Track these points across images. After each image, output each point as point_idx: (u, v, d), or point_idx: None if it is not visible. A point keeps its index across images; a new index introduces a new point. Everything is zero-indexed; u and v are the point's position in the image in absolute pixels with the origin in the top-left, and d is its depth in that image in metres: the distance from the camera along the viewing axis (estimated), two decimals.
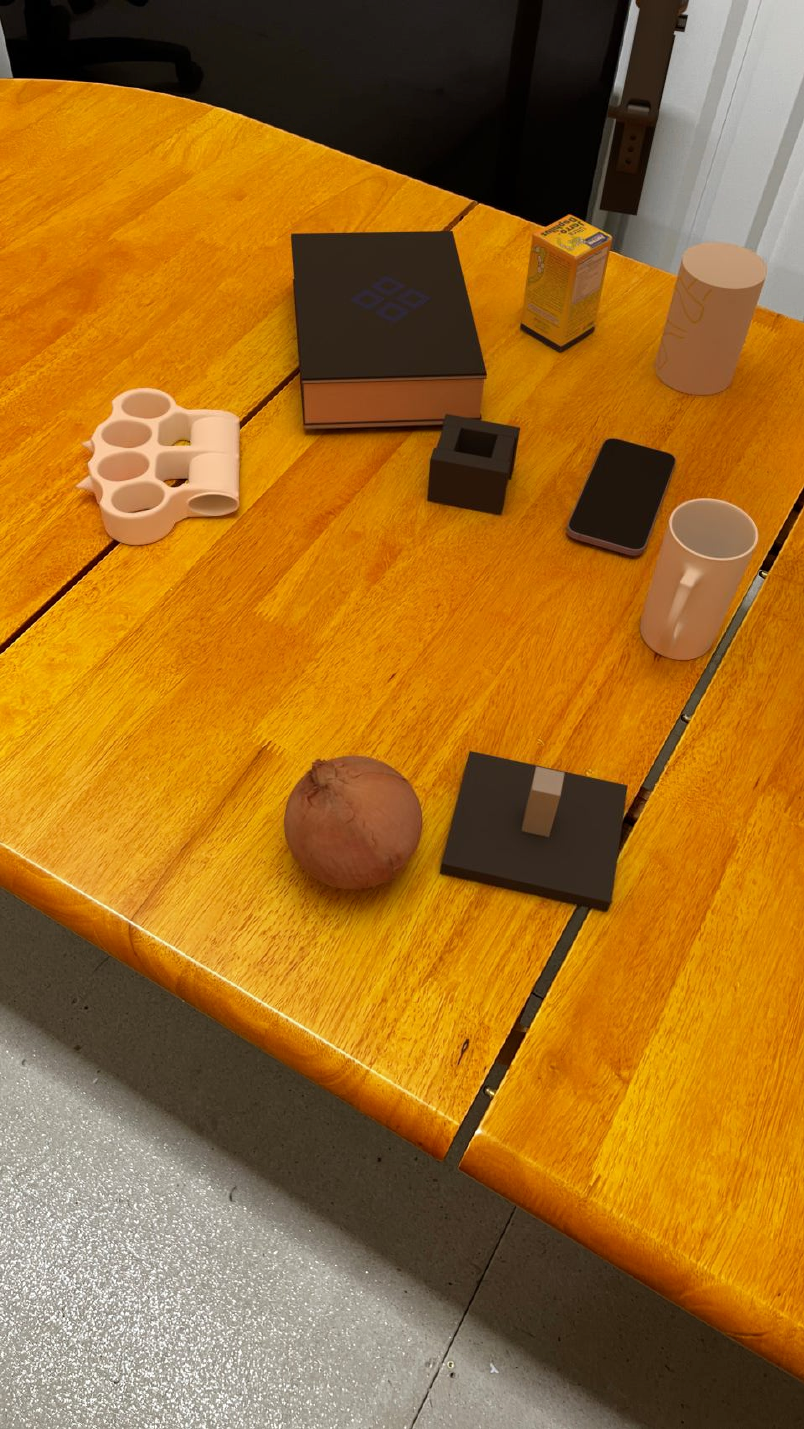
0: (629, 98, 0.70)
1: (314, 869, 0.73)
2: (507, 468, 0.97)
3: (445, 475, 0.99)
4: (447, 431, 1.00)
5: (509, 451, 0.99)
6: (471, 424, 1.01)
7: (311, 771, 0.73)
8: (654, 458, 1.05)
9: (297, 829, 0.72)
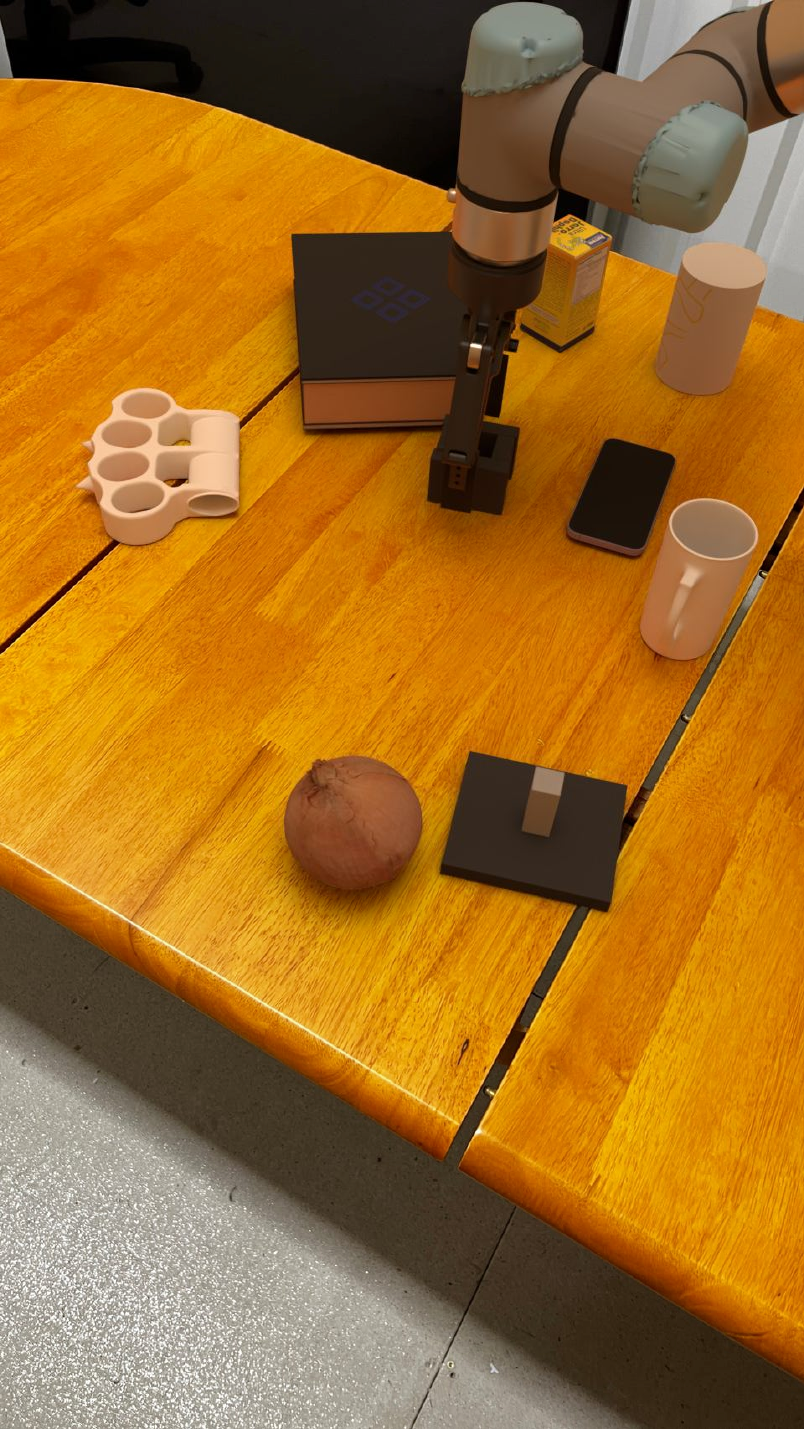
0: (450, 449, 0.88)
1: (314, 869, 0.73)
2: (507, 468, 0.97)
3: None
4: None
5: (509, 451, 0.99)
6: None
7: (311, 771, 0.73)
8: (654, 458, 1.05)
9: (297, 829, 0.72)
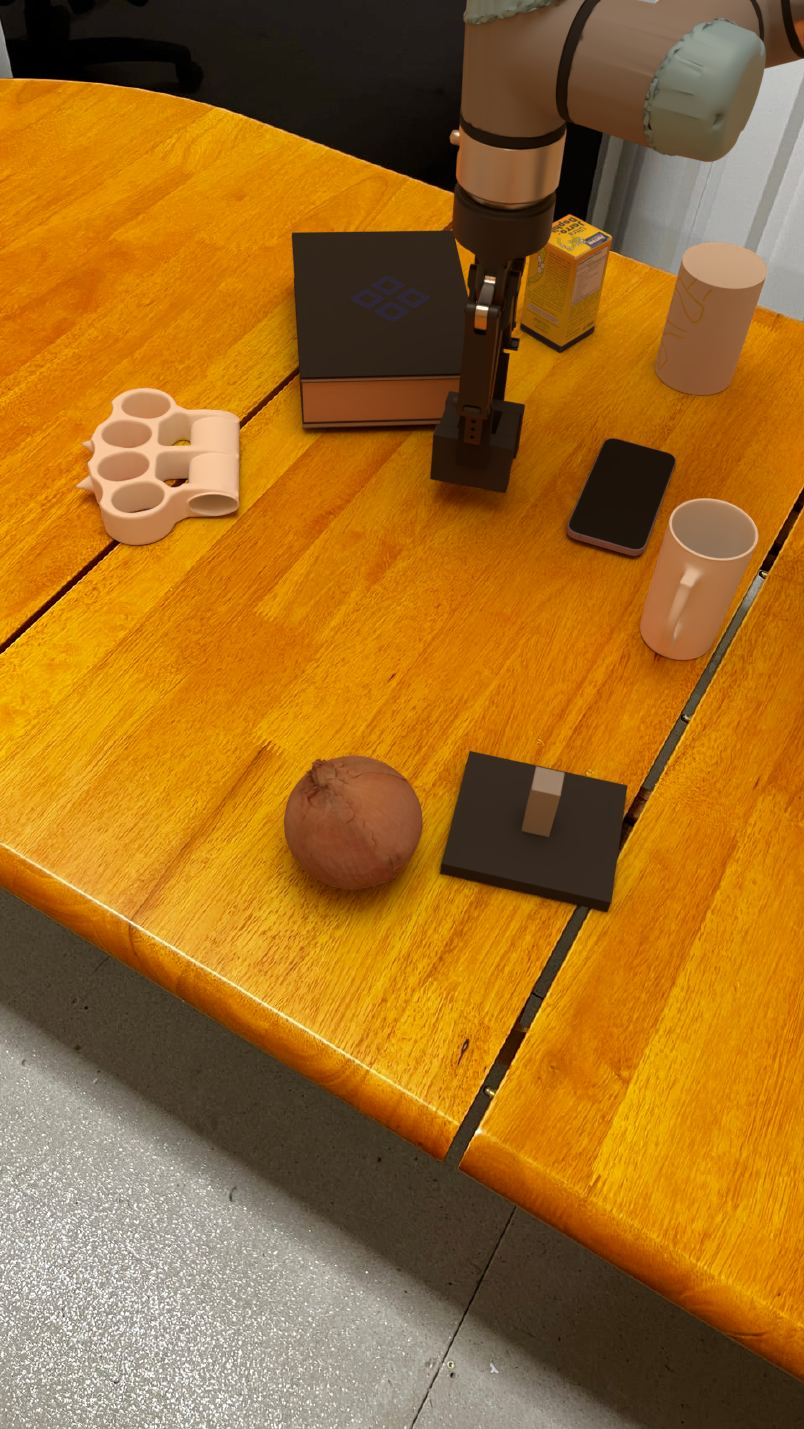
0: (463, 403, 0.88)
1: (314, 869, 0.73)
2: (512, 444, 0.95)
3: (448, 452, 0.96)
4: (450, 408, 0.98)
5: (514, 428, 0.96)
6: None
7: (311, 771, 0.73)
8: (654, 458, 1.05)
9: (297, 829, 0.72)
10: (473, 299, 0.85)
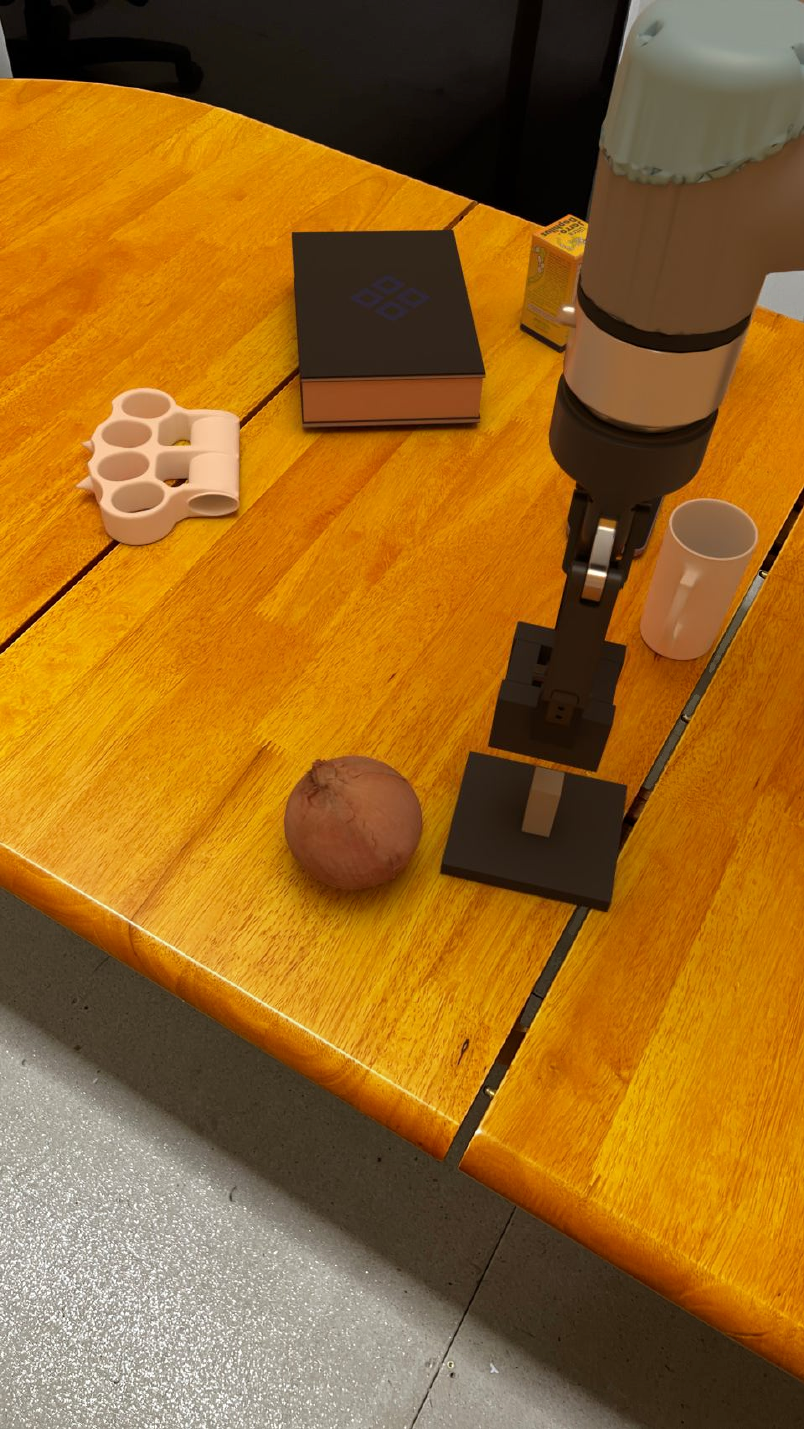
0: (553, 688, 0.58)
1: (314, 869, 0.73)
2: (612, 717, 0.65)
3: (518, 719, 0.67)
4: (521, 651, 0.68)
5: (613, 687, 0.67)
6: None
7: (311, 771, 0.73)
8: None
9: (297, 829, 0.72)
10: (575, 541, 0.56)
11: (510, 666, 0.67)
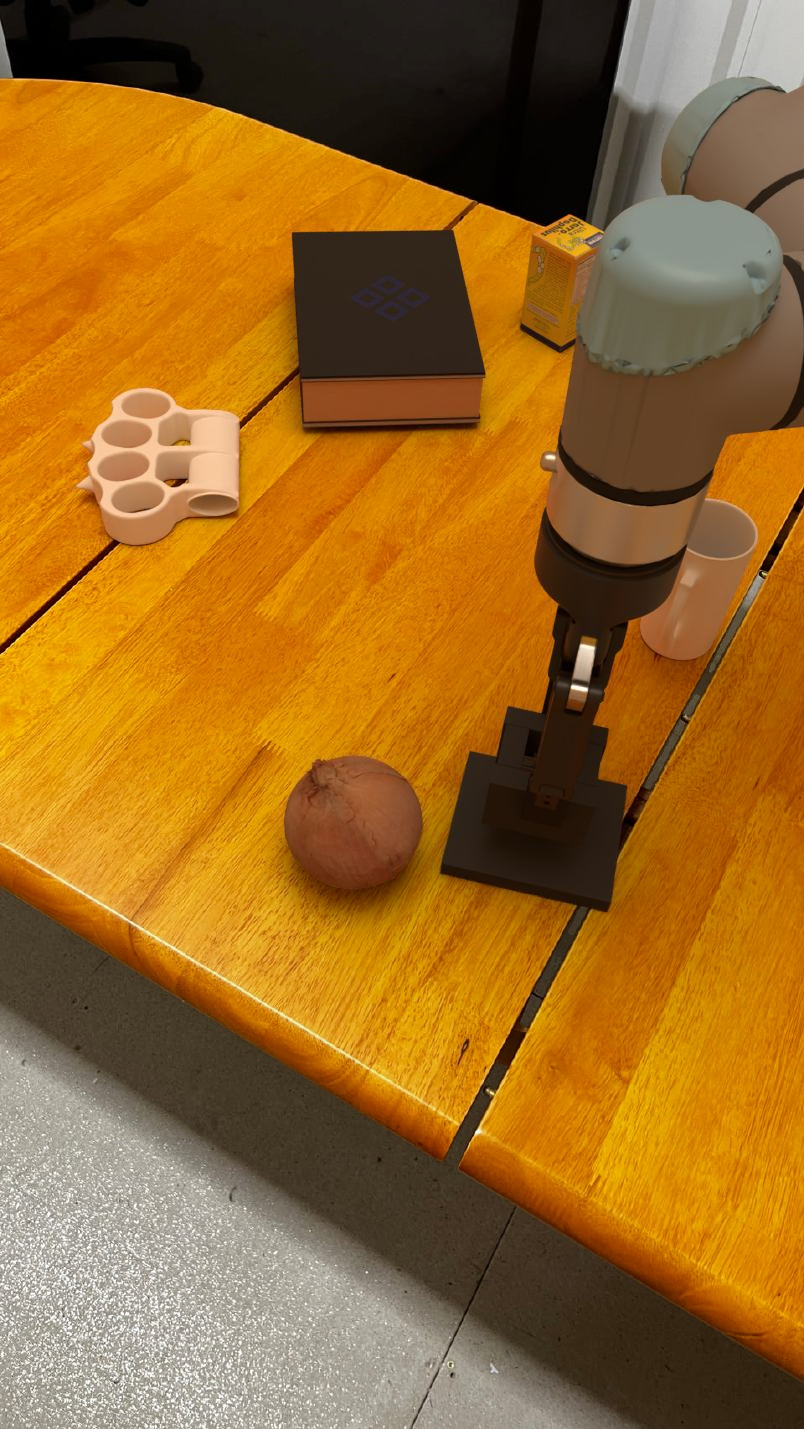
0: (541, 783, 0.63)
1: (314, 869, 0.73)
2: (596, 799, 0.70)
3: (509, 801, 0.72)
4: (511, 736, 0.73)
5: (597, 769, 0.72)
6: (543, 723, 0.74)
7: (311, 771, 0.73)
8: None
9: (297, 829, 0.72)
10: (559, 652, 0.61)
11: (501, 751, 0.72)
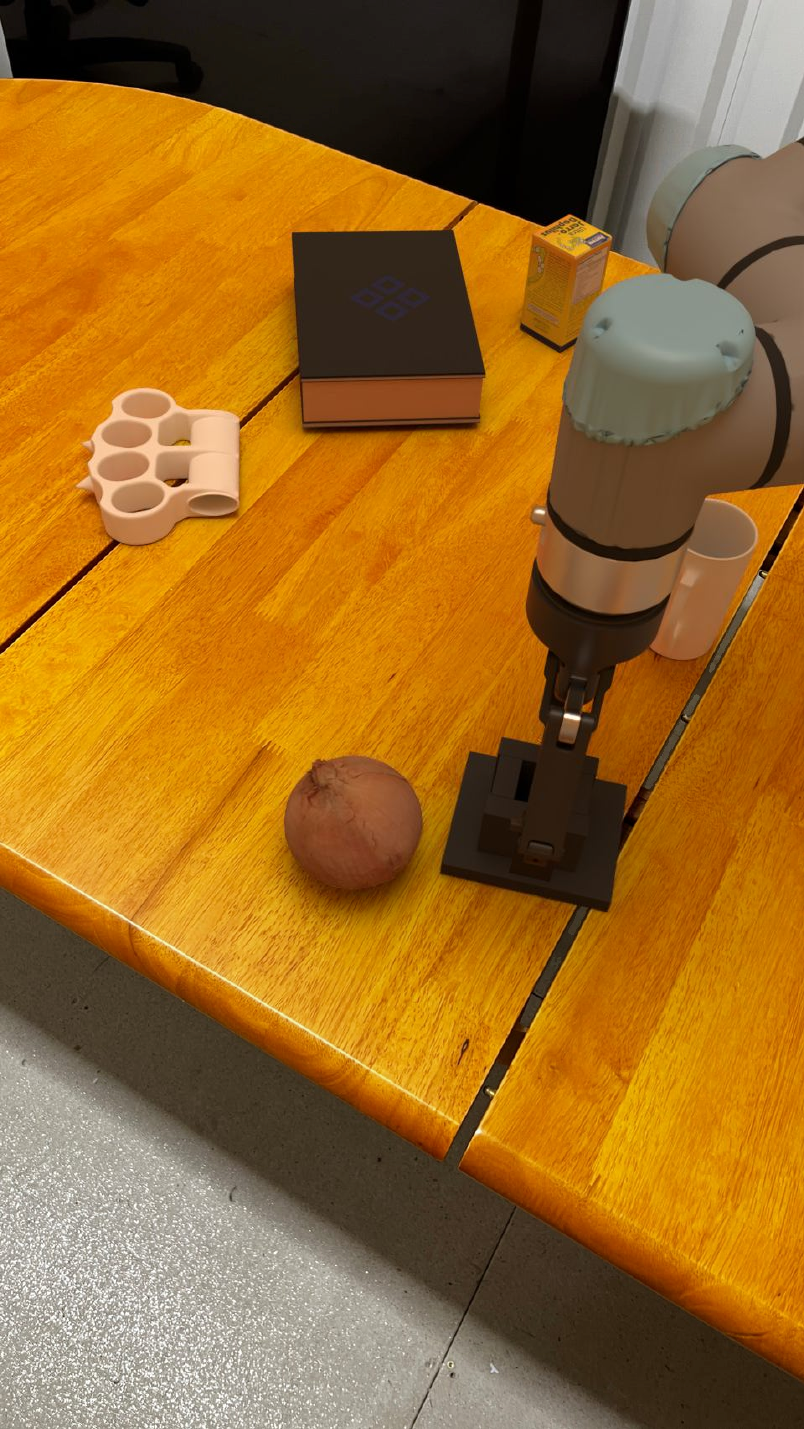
0: (530, 838, 0.63)
1: (314, 869, 0.73)
2: (586, 828, 0.73)
3: (503, 829, 0.75)
4: (504, 766, 0.76)
5: (587, 798, 0.75)
6: (535, 753, 0.77)
7: (311, 771, 0.73)
8: None
9: (297, 829, 0.72)
10: (550, 692, 0.63)
11: (495, 781, 0.75)
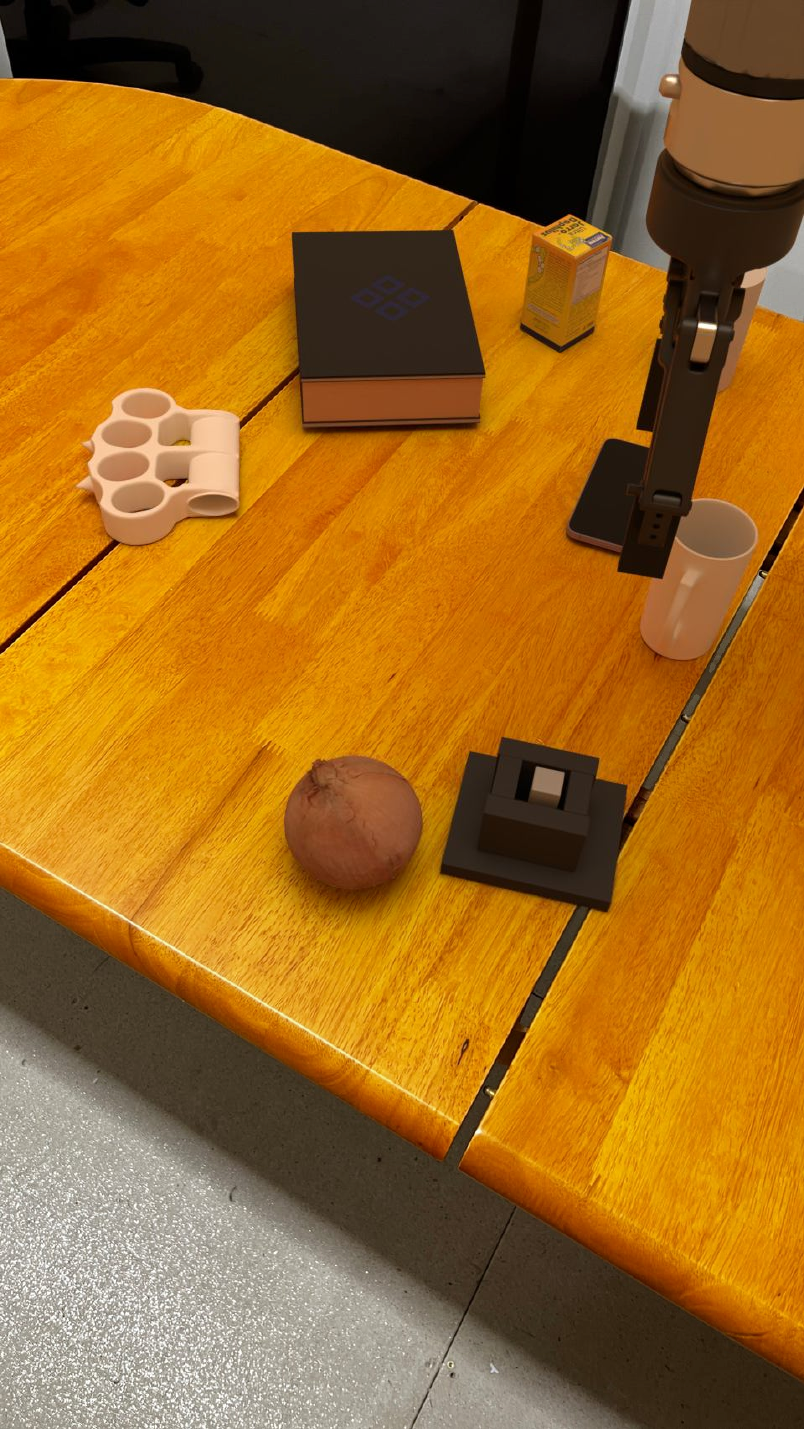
0: (655, 488, 0.57)
1: (314, 869, 0.73)
2: (586, 828, 0.73)
3: (503, 829, 0.75)
4: (504, 766, 0.76)
5: (587, 798, 0.75)
6: (535, 753, 0.77)
7: (311, 771, 0.73)
8: None
9: (297, 829, 0.72)
10: (673, 326, 0.57)
11: (495, 781, 0.75)
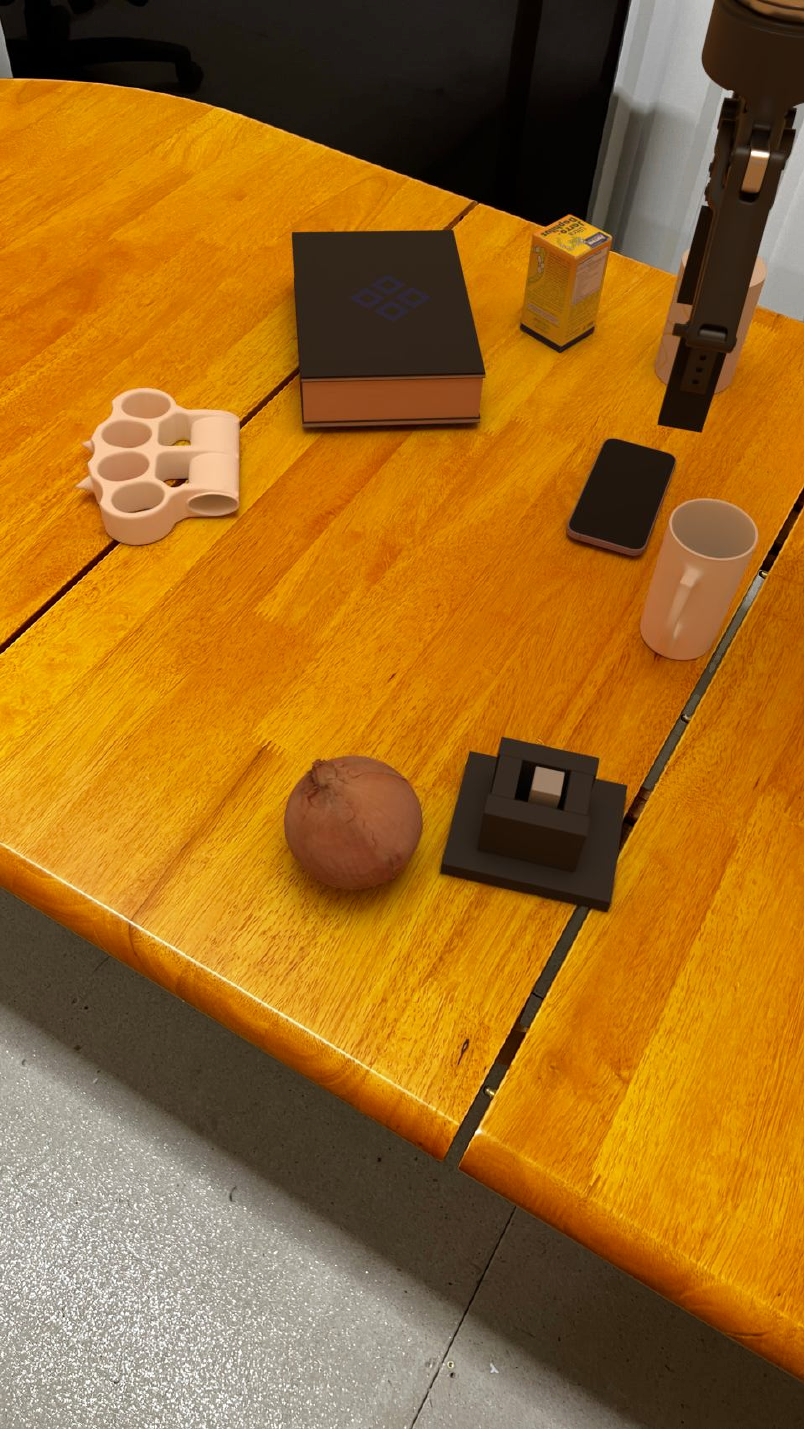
0: (702, 322, 0.58)
1: (314, 869, 0.73)
2: (586, 828, 0.73)
3: (503, 829, 0.75)
4: (504, 766, 0.76)
5: (587, 798, 0.75)
6: (535, 753, 0.77)
7: (311, 771, 0.73)
8: (654, 458, 1.05)
9: (297, 829, 0.72)
10: (724, 166, 0.59)
11: (495, 781, 0.75)
